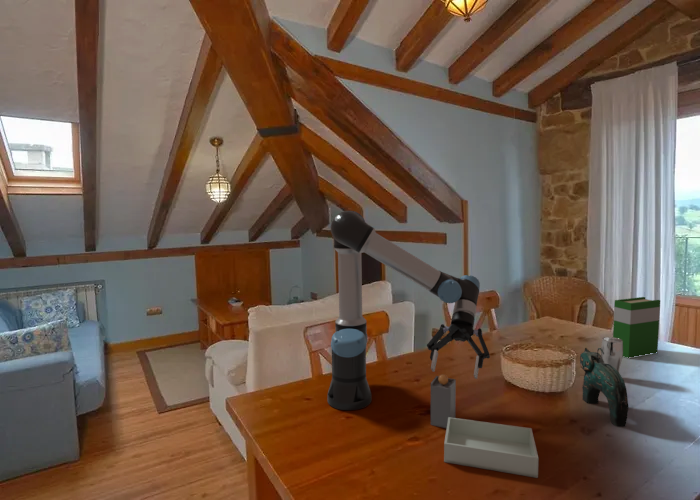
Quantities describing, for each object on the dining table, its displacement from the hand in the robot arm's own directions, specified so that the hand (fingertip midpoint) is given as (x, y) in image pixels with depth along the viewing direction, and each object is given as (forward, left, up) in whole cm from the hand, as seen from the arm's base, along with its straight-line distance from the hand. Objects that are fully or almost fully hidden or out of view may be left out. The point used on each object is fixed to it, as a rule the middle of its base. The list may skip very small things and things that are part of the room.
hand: (453, 373), depth 129 cm
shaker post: (-3, -8, -13) cm, 15 cm away
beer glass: (+55, +43, -13) cm, 71 cm away
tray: (+10, -21, -13) cm, 27 cm away
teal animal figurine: (+45, +13, -13) cm, 49 cm away
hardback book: (+73, +76, -13) cm, 107 cm away
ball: (-3, -8, -1) cm, 8 cm away
